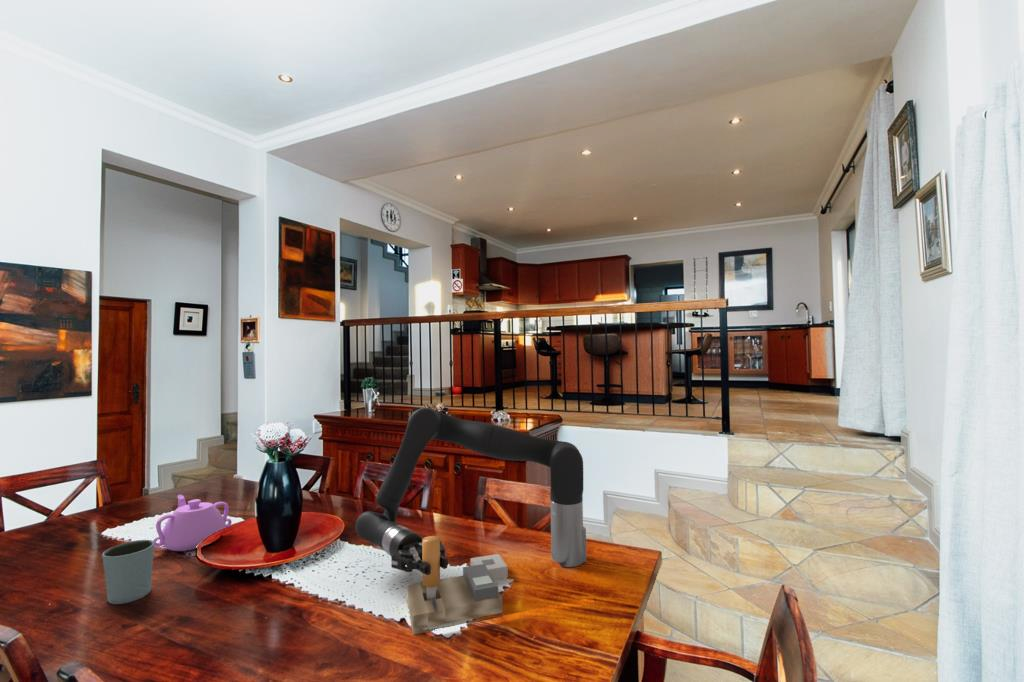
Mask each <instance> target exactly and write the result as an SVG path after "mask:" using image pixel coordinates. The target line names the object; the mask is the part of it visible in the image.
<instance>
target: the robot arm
mask: <svg viewBox="0 0 1024 682" xmlns="http://www.w3.org/2000/svg"><path fill="white" fill-rule="evenodd" d="M431 440H436V441H443V442H447V443H453V444H456V445H458V446H461V447H463V448H465V449H467V450H470V451H471V452H475V453H477V454H480V455H482V456H486V457H490V458H494V459H498V460H503V461H521V462H522V461H525V462H532V463H535V464H540V465H543V466H546V467H548V468H550V491H549V492H550V498H549V499H550V546H551V547H550V548H551V549H550V556H551V559H552V561H554V562H555V563H558V564H559V566H561V567H563V568H573V567H574V568H575V567H578V566H581V565H582V564H583V563H587V528H586V527H585V526H584V509H583V508H584V506H583V504H584V503H583V502H584V501H583V500H584V498H583V494H584V459H583V456H582V453H581V452H580V450H579V449H578V447H577V446H576V445H574V444H573V443H571V442H568V441H561V440H554V439H548V438H541V437H537V436H533V435H531V434H527V433H525V432H522V431H518V430H515V429H512V428H509V427H505V426H502V425H498V424H493V423H489V422H482V421H475V420H468V419H462V418H458V417H455V416H452V415H449V414H446V413H443V412H441V411H438V410H436V409H434V408H430V407H420V408H418V409H416V410H415V411H413V412H412V414H411V415H410V416H409V419H408V421H407V425H406V429H405V431H404V435H403V438H402V441H401V444H400V447H399V449H398V452H397V454H396V456H395V458H394V460H393V462H392V464H391V466H390V467H389V470H388V471H387V474H386V476H385V477H384V480H383V482H382V483H381V486H380V487H379V490H378V491H377V494H376V496H375V502H376V504H377V505H378V506H380V507H381V508H383V509H384V510H383V513H378V512H375V511H369V510H368V511H364V512H362V513H361V514H360V515H359V516H358V517H357V519H356V521H355V525H354V527H355V528H354V529H355V533H356V535H357V537H359V538H361V539H362V540H365V541H367V542H369V543H372V544H374V545H377V546H378V547H379V548H381V549H382V550H383V551H385V553H386V554H387V555H389V557H391V558H390V559H391V562H390V563H391V565H390V566H391V568H392V569H396V570H399V571H402V572H406V573H411V572H413V570H415V571H416V572H420V573H421V574H422V573H423V574H426V575H429V574H430V573H431V567H430V564H428V563H427V562H425V561H423V560H422V539H423V538H422V536H421V535H419V534H418V533H416V532H414V531H413V530H411V529H409V528H408V527H405V526H402V525H401V524H399V523H397V522H396V520H397V516H398V512H399V509H400V505H401V502H402V500H403V498H404V496H405V494H406V492H407V490H408V488H409V485H410V483H411V481H412V478H413V475H414V472H415V469H416V466H417V464H418V461H419V459H420V457H421V455H422V453H423V452H424V450H425V448H426V447H427V445H428V444H429V443H430V441H431ZM448 561H449V559H448V558H447V557H446V547H445V546H444V545H443V543H442V541H441V540H440V569H442V570H446V569H447V568H448V566H449V562H448Z"/></svg>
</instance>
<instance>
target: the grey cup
mask: <svg viewBox="0 0 1024 682" xmlns="http://www.w3.org/2000/svg"><path fill="white" fill-rule="evenodd" d="M154 552H155V546H154V541H153V539H138V540H131V541H126V542H124V543H120V544H117V545H114V546H112V547H109V548H108V549H106V550H104V551H103V552H102V554H101V557H102V564H103V571H104V580H105V584H106V586H105V587H106V589H105V590H106V594H107V595H106V596H107V597H106V599H107V602H109V604H110V603H111V604H110V605H122V604H128V603H131V602H134V601H138V600H139V599H142V598H144V597H145V596H147V595H148V594H149V593H150V592H151V591H152V580H153V579H152V577H153V576H152V574H153V567H154V566H153V560H154Z"/></svg>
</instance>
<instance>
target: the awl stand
mask: <svg viewBox="0 0 1024 682" xmlns="http://www.w3.org/2000/svg"><path fill="white" fill-rule="evenodd" d="M481 564H485V566H486V567H487V569H488V571H489V572H490V574H491V576H492V577H493V579H494V580H495V581H498V580H506V579H508V575H509V574H508V565H507V564H506V562H505V561H504V559H503V558H502V557H501V555H500V554H499V553H497V554H495V553H494V554H490V555H484V556H477V557H472V558H470V566H475V565H481Z"/></svg>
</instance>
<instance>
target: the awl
mask: <svg viewBox="0 0 1024 682" xmlns="http://www.w3.org/2000/svg"><path fill="white" fill-rule="evenodd" d="M440 541H441V539H440V537H439V536H437V535H429V536H425V537H423V538H422V560H423V561H425V562H427V563H428V564H430V567H431V573H430V574H429V575H426V574H423V573H421V574H422V577H421V578H422V582H423V586H425V587H427V601H428V600H431V599H436V586H437V585H439V584H440V579H441V567H440Z"/></svg>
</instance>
